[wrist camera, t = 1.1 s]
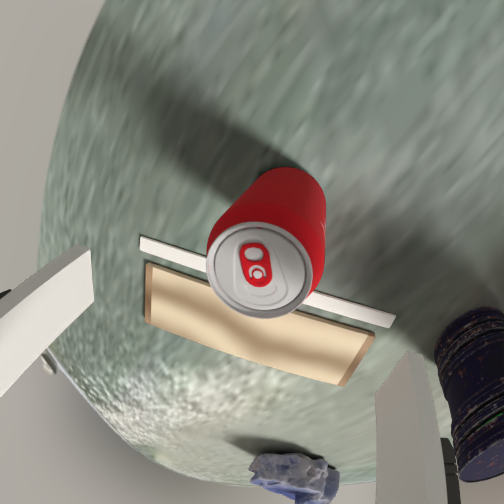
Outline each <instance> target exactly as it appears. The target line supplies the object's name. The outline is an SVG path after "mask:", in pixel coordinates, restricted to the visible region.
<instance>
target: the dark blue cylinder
mask: <svg viewBox="0 0 504 504" xmlns="http://www.w3.org/2000/svg"><path fill="white" fill-rule="evenodd" d="M434 358H435V362H436V365H437V368H438V376H439V381H440V384H441V387H442V390H443V393H444V397H445V399H446V400H447V401H448V404H449V408H450V413H451V417H452V424H451V436H452V437H453V447H454V452H455V456H456V459H457V465H458V466H459V467H458V473H459V479H460V480H461V481H463V482H468V483H473V482H480V481H484V480H488V479H491V478H494V477H497V476H500V475H502V474H504V314H503V313H502V312H501V311H500V310H498V309H496V308H493V307H480V308H476V309H473V310H470V311H468V312H466V313H464V314H462V315H461V316H459V317H458V318H456V319H455V320H454V321H453V322H451V323H450V324H449V325H448V326H447V327H446V329H445V330H444V331H443V332H442V334H441V335H440V337H439V339H438V341H437V343H436V346H435V350H434Z"/></svg>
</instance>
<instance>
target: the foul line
mask: <svg viewBox="0 0 504 504" xmlns="http://www.w3.org/2000/svg"><path fill="white" fill-rule="evenodd" d="M140 250H141V251H144V252H147V253H150V254H153V255H156V256H159V257H161V258H164V259H167V260H170V261H173V262H176V263H179V264H182V265H185V266H188V267H191V268H194V269H197V270H200V271H203V272H206V259H207V257H205V256H202V255H199V254H196V253H193V252H190V251H187V250H184V249H181V248H177V247H174V246H171V245H168V244H165V243H162V242H159V241H156V240H153V239H150V238H147V237H144V236H141V237H140ZM303 304H307V305H310V306H313V307H317V308H320V309H323V310H327V311H330V312H333V313H337V314H340V315H344V316H347V317H350V318H354V319H357V320H361V321H364V322H368V323H371V324H375V325H379V326H382V327H386V328H390V326H391V325H392V323H393V321H394V320H395V318H396V315H394V314H390V313H387V312H384V311H380V310H377V309H373V308H370V307H367V306H363V305H360V304H357V303H353V302H350V301H347V300H343V299H340V298H337V297H333V296H330V295H327V294H323V293H320V292H317V291H313V292H312V293H311V294H310V295H309V296H308V297H307V298H306V299H305V300H304V302H303Z"/></svg>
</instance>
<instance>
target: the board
mask: <svg viewBox="0 0 504 504" xmlns="http://www.w3.org/2000/svg"><path fill="white" fill-rule="evenodd" d="M145 322H146V323H149V324H151V325H154V326H156V327H159V328H161V329H164V330H166V331H169V332H171V333H174V334H176V335H179V336H182V337H184V338H187V339H190V340H192V341H195V342H198V343H200V344H203V345H206V346H209V347H212V348H214V349H217V350H220V351H223V352H226V353H229V354H232V355H235V356H238V357H241V358H244V359H247V360H250V361H253V362H256V363H260V364H263V365H266V366H269V367H273V368H276V369H279V370H283V371H286V372H290V373H293V374H297V375H301V376H304V377H308V378H312V379H316V380H319V381H323V382H327V383H331V384H335V385H339V386H343V387H344V386H345V384H346V383H347V381H348V380H349V378H350V377H351V375H352V374H353V372H354V371H355V369H356V368H357V366H358V365H359V363H360V361H361V360H362V358H363V357H364V355H365V354H366V352H367V350H368V349H369V347H370V345H371V344H372V342H373V340H374V339H375V333H372V332H368V331H364V330H361V329H357V328H354V327H350V326H346V325H343V324H339V323H336V322H333V321H329V320H326V319H322V318H319V317H315V316H312V315H309V314H305V313H302V312H299V311H295V310H294V311H292V312H291V313H289V314H287V315H284V316H281V317H277V318H272V319H258V318H252V317H248V316H245V315H242V314H240V313H238V312H236V311H234V310H232V309H231V308H229V307H228V306H227V305H225V304H224V303H223V302H222V301H221V300H220V299H219V298H218V297H217V296H216V294H215V293H214V291H213V289H212V288H211V286H210V283H208V282H205V281H202V280H199V279H196V278H193V277H190V276H187V275H185V274H182V273H179V272H176V271H173V270H170V269H167V268H164V267H162V266H159V265H156V264H153V263H150V262H148V263H147V264H146V279H145Z"/></svg>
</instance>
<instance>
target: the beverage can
mask: <svg viewBox="0 0 504 504" xmlns="http://www.w3.org/2000/svg"><path fill="white" fill-rule="evenodd" d="M325 229H326V201H325V196H324V193H323V191H322V189H321V187H320V185H319V184H318V182H317V181H316V180H315V179H314V178H313V177H312V176H310V175H309V174H308V173H306V172H304V171H302V170H300V169H296V168H292V167H279V168H274V169H271V170H269V171H267V172H265V173H264V174H262V175H261V176H260V177H259V178H258V179H257V180H256V181H255V182H254V183H253V184H252V185H251V186H250V187H249V188H248V189H247V190H246V191H245V192H244V193H243V194H242V195H241V196H240V197H239V198H238V200H237V201H236V202H235V203H234V204H233V205H232V206H231V207H230V208H229V209H228V210H227V211H226V212H225V213H224V214H223V215H222V216H221V217H220V219H219V220H218V221H217V222H216V224H215V225H214V227H213V228H212V231H211V233H210V235H209V239H208V243H207V259H206V273H207V278H208V281H209V283H210V286H211V288H212V289H213V291H214V293H215V294H216V296H217V297H218V298H219V299H220V300H221V301H222V302H223V303H224V304H225V305H227V306H228V307H229V308H231V309H232V310H234V311H236V312H238V313H240V314H242V315H245V316H248V317H252V318H258V319H272V318H277V317H281V316H284V315H287V314H289V313H291V312H292V311H294V310H295V309H297V308H298V307H299V306H300V305H301V304H302V303H303V302H304V300H305V299H306V298H307V297H308V296H309V295H310V294H311V293H312V292H313V291H314V289H315V288H316V287H317V285H318V283H319V281H320V279H321V277H322V274H323V269H324V261H325Z"/></svg>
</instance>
